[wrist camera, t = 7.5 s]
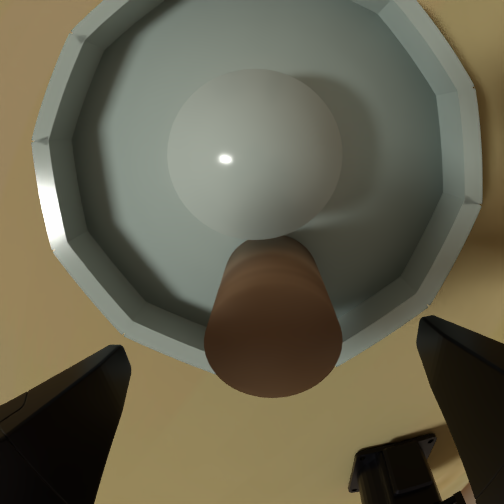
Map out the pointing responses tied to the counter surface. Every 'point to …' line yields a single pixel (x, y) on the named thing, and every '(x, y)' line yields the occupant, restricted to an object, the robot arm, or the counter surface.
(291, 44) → the groove tray
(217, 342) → the brown rounded short cylinder
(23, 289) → the counter surface
